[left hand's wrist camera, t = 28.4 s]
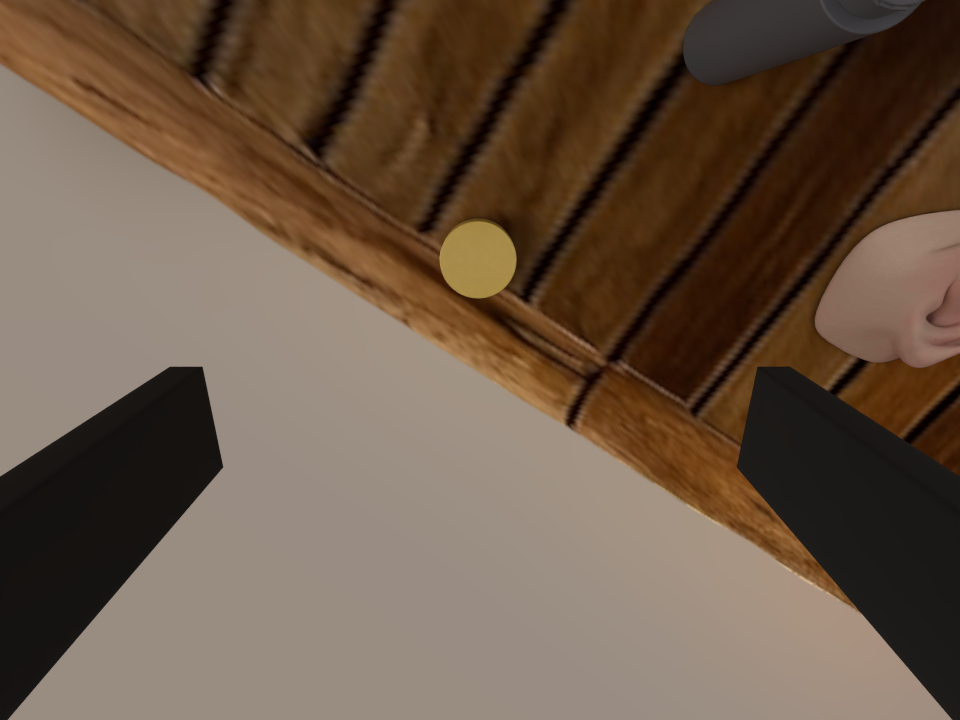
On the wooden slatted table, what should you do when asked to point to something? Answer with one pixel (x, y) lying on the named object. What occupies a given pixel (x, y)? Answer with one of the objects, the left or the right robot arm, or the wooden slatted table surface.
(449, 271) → the lid
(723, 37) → the dark grey bottle
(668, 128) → the wooden slatted table surface
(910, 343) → the anatomical model
